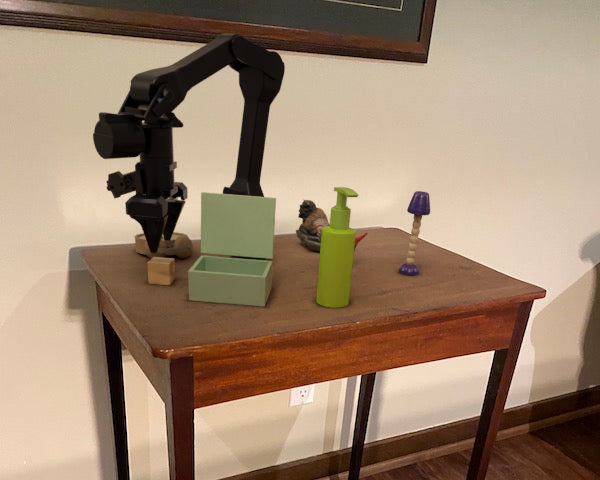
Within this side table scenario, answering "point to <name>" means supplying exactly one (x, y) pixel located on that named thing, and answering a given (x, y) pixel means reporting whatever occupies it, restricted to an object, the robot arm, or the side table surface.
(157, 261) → the block
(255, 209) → the lid
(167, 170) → the robot arm
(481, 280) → the side table surface
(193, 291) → the chest
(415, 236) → the toy lamp
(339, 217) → the soap dispenser
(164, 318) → the side table surface
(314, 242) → the bison figurine
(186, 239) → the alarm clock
